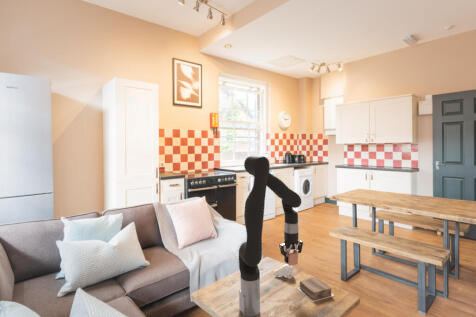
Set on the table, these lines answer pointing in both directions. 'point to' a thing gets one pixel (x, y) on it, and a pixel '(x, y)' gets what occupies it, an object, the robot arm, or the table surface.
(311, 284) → the walnut plinth
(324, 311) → the table surface
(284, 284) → the table surface
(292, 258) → the terracotta block
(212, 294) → the table surface
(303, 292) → the grey flat square slab
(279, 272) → the white speckled wedge
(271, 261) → the table surface
